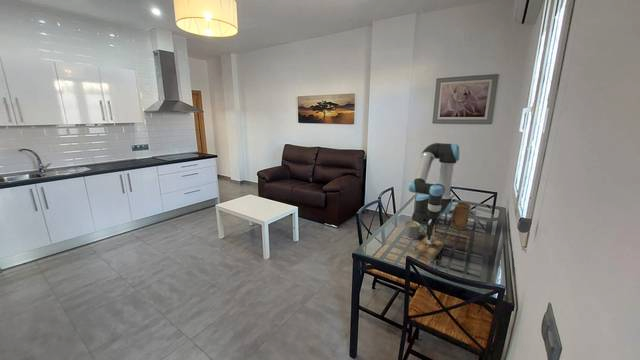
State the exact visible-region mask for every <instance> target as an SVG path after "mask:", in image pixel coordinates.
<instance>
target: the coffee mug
mask: <svg viewBox="0 0 640 360" xmlns="http://www.w3.org/2000/svg"><path fill="white" fill-rule="evenodd" d="M420 230H421V231H420ZM403 231H404V232H403V235H404V234H405V236H407V237H409V238H413V239H412V240H417V239H418V238H419V236H422V235H424V234H425V228H424V227H422V226H420V223H418V222H415V221H413V220H407V221H405V223H404V230H403ZM405 236H404V237H405Z"/></svg>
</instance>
